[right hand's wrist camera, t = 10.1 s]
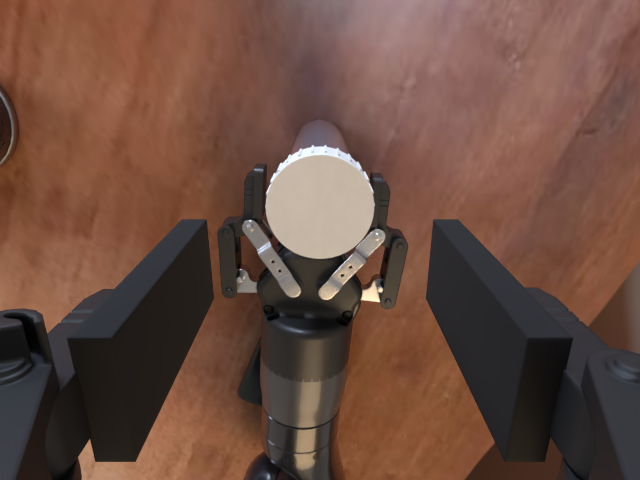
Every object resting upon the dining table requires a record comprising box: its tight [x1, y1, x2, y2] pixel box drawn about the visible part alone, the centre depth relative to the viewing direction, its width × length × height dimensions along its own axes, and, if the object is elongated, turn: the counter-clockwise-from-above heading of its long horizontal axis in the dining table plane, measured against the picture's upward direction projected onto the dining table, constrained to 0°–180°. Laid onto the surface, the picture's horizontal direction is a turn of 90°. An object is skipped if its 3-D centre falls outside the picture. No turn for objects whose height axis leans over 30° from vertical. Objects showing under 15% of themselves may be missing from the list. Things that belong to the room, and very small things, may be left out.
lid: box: [265, 145, 375, 259], centre depth 20 cm, size 5×5×2 cm
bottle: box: [290, 120, 350, 155], centre depth 29 cm, size 4×4×20 cm
